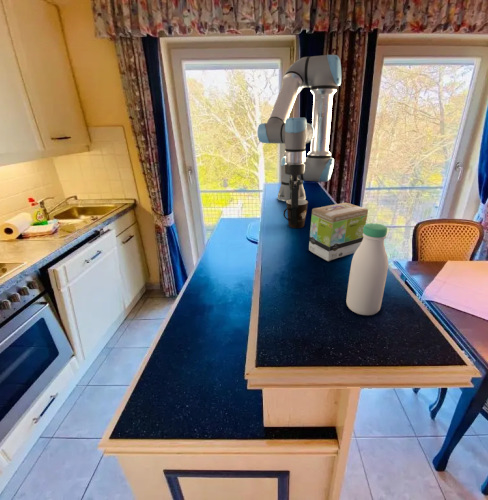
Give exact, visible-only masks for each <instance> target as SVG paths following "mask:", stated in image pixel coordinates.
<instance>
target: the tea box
mask: <svg viewBox="0 0 488 500" xmlns="http://www.w3.org/2000/svg"><path fill="white" fill-rule="evenodd" d="M368 214H369V209H368V208H365V207H362V206H359V205H355V204H352V203H350V202H346V201H345V202H341V203H335V204H330V205H325V206H321V207H314V208H312V209H311V218H310V230H309V241H308V242H309V243H308V251H310V252H311V253H313V254H314V255H316V256H318V257H319V258H321V259H323V260H325V261H327V262H331V261H333V260H336V259H338V258H343V257H346V256H348V255H352V254H355V252H356V250H357V249H358V247H359V246H360V244H361V242H362V240H363V237H364V236H363V228H364V225H366V224H367V219H368Z"/></svg>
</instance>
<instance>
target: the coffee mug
mask: <svg viewBox="0 0 488 500" xmlns="http://www.w3.org/2000/svg"><path fill="white" fill-rule="evenodd" d="M285 203H286V208H285V209H284V211H283V218H285V220H287V222H288V224H287V225H288V227H289V228H292V229H301V228H304V227H305V222H306V219H307V218H306V217H307V212H308V207H309V206H308V205H309V201H308V200H306V199H305V200H303V199H298V219H297V225H290V216H291V209H289V207H291V199H290V200H287V201H286V202H285ZM286 213H287V216H286Z"/></svg>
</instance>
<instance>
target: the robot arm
mask: <svg viewBox="0 0 488 500" xmlns="http://www.w3.org/2000/svg"><path fill="white" fill-rule="evenodd" d="M341 84H342V64H341V58H340V57H339V56H338V54H322V55H313V56H303V57H301V58H298V59H297V60H296V61H295V62H294V63H292V64H291V65H290V66H289V67H288V68H287V70H286V71H285V73H284V75H283V77H282V80H281V87H280V90H279V93H278V94H277V97H276V100H275V103H274V105H273V107H272V110H271V112H270V115H269V117H268V119H267V121H266V122H263V123H262V122H261V123H260V124H258V127H257V131H256V132H257V133H256V134H257V139H258V141H259V142H260V143H261V144H268V145H269V144H284V153H283V155H282V156H283V157H282V158H281V160H280V187H279V190H278V193H277V200H278V202H283V203H286V201H287V200H290V199H291V207H289V209H291V216H290V225H297V219H298V199H303V200H306V199H307V196H306V191H305V189H304V182H317V183H327V182H329V180H331V177H332V174H333V169H334V165H335V159H334V158H333V157H332V153H331V152H330V151H329V149H330V148H329V145H330V135H331V122H332V112H333V111H332V110H333V109H332V108H333V98H334V95H335V94H336V92H337V91H338V90H337V89H338V87H339V86H341ZM304 88H310V92H311V94H312V95H313V103H312V104H313V105H312V120H311V121H312V123H308V122H307V118H306V117H290V114H291V112H292V109H293V107H294V104H295V102H296V99H297V96H298V94H299V93H301V91H302V90H303V89H304ZM309 143H310V151H308V153H307V157H306V145H307V144H309Z"/></svg>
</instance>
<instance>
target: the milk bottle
mask: <svg viewBox="0 0 488 500" xmlns="http://www.w3.org/2000/svg"><path fill="white" fill-rule="evenodd" d="M387 234H388V227H387V226H386V225H384V224H381V223H375V222H369V223H366V225H364V228H363V236H364V237H363V240H362V242H361V244H360V246H359V247H358V249H357V250H356V252H355V253H353V255H352V259H351V264H350V268H349V276H348V283H347V293H346V299H345V300H346V301H345V302H346V306H347V307H348V309H349V310H350V311H352V312H354V313H355V314H357V315H362V316H374V315H375V314H377V313H379V311H380V310H381V307H382V303H383V297H384V291H385V287H386V283H387V282H386V281H387V276H388V270H389V258H388V253H387V251H386V246H385V239H386V238H387Z"/></svg>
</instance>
